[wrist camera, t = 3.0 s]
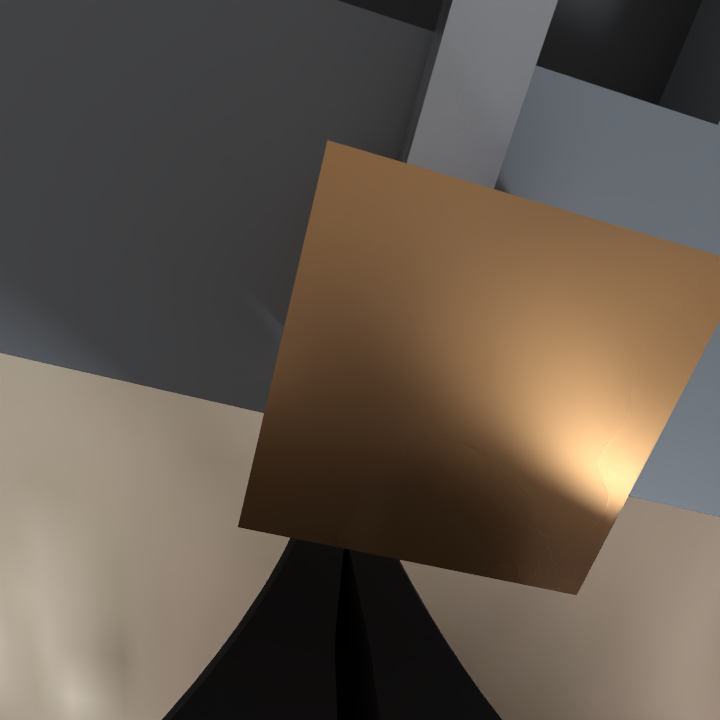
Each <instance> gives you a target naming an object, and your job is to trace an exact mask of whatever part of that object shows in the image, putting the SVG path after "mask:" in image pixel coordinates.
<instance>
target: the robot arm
mask: <svg viewBox="0 0 720 720" xmlns="http://www.w3.org/2000/svg"><path fill="white" fill-rule="evenodd" d="M162 720H502V719H501V718H500V717H499V715H498V714H497V713H496V711H495V710H494V709H493V707H492V706H491V705H490V704H489V702H488V701H487V700H486V698H485V697H484V696H483V694H482V693H481V692H480V690H479V689H478V687H477V686H476V685H475V683H474V682H473V680H472V679H471V677H470V676H469V675H468V673H467V672H466V670H465V669H464V667H463V666H462V664H461V663H460V661H459V660H458V658H457V657H456V655H455V654H454V652H453V651H452V649H451V648H450V646H449V644H448V643H447V641H446V640H445V638H444V637H443V635H442V634H441V632H440V630H439V629H438V627H437V625H436V624H435V622H434V621H433V619H432V617H431V616H430V614H429V612H428V610H427V609H426V607H425V605H424V604H423V602H422V600H421V598H420V597H419V595H418V593H417V591H416V590H415V588H414V586H413V584H412V583H411V581H410V579H409V577H408V575H407V573H406V571H405V570H404V568H403V566H402V564H401V562H400V560H399V559H395V558H390V557H385V556H380V555H375V554H370V553H365V552H360V551H355V550H350V549H345V548H340V547H335V546H330V545H325V544H320V543H315V542H310V541H305V540H300V539H295V538H290V540H289V542H288V544H287V546H286V548H285V550H284V552H283V554H282V556H281V558H280V559H279V561H278V563H277V565H276V566H275V568H274V570H273V572H272V574H271V575H270V577H269V579H268V581H267V582H266V584H265V585H264V587H263V589H262V590H261V592H260V593H259V595H258V596H257V598H256V599H255V601H254V602H253V604H252V605H251V607H250V608H249V610H248V611H247V613H246V614H245V616H244V617H243V619H242V620H241V622H240V623H239V625H238V626H237V627H236V629H235V630H234V632H233V633H232V634H231V636H230V637H229V638H228V640H227V641H226V642H225V644H224V645H223V646H222V648H221V649H220V650H219V652H218V653H217V654H216V656H215V657H214V658H213V659H212V661H211V662H210V663H209V664H208V666H207V667H206V668H205V669H204V671H203V672H202V673H201V674H200V676H199V677H198V678H197V679H196V681H195V682H194V683H193V684H192V686H191V687H190V688H189V689H188V690H187V691H186V692H185V694H184V695H183V696H182V697H181V698H180V699H179V701H178V702H177V703H176V704H175V705H174V706H173V708H172V709H171V710H170V711H169V712H168V713H167V715H166V716H165V717H164V718H163V719H162Z"/></svg>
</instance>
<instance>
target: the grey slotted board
mask: <svg viewBox="0 0 720 720" xmlns="http://www.w3.org/2000/svg"><path fill="white" fill-rule="evenodd" d="M442 2H443V0H0V353H3V354H8V355H12V356H17V357H21V358H25V359H30V360H34V361H39V362H43V363H47V364H52V365H56V366H60V367H65V368H69V369H74V370H78V371H82V372H87V373H91V374H95V375H100V376H104V377H109V378H113V379H117V380H122V381H126V382H131V383H135V384H139V385H144V386H148V387H152V388H157V389H161V390H166V391H170V392H174V393H179V394H183V395H187V396H192V397H196V398H201V399H205V400H209V401H214V402H218V403H223V404H227V405H231V406H236V407H240V408H244V409H249V410H253V411H258V412H262V413H264V412H265V408H266V404H267V400H268V395H269V391H270V387H271V382H272V378H273V374H274V369H275V365H276V361H277V356H278V352H279V348H280V343H281V339H282V335H283V330H284V326H285V322H286V317H287V313H288V309H289V305H290V300H291V296H292V292H293V287H294V283H295V279H296V274H297V270H298V266H299V261H300V257H301V253H302V248H303V244H304V240H305V235H306V231H307V227H308V222H309V218H310V214H311V209H312V205H313V201H314V197H315V192H316V188H317V184H318V179H319V175H320V171H321V166H322V162H323V158H324V153H325V149H326V145H327V140H329V141H332V142H336V143H339V144H343V145H346V146H349V147H353V148H356V149H359V150H363V151H366V152H370V153H373V154H376V155H380V156H383V157H387V158H390V159H393V160H397V161H399V157H400V154H401V150H402V147H403V143H404V139H405V136H406V132H407V129H408V125H409V121H410V118H411V114H412V111H413V107H414V103H415V100H416V96H417V93H418V89H419V85H420V82H421V78H422V74H423V71H424V67H425V64H426V60H427V56H428V53H429V49H430V46H431V42H432V38H433V35H434V31H435V28H436V24H437V20H438V17H439V13H440V10H441V6H442ZM494 189H495V190H498V191H502V192H505V193H509V194H512V195H515V196H519V197H522V198H526V199H529V200H532V201H536V202H539V203H543V204H546V205H549V206H553V207H556V208H559V209H563V210H566V211H570V212H573V213H576V214H580V215H583V216H587V217H590V218H593V219H597V220H600V221H604V222H607V223H610V224H614V225H617V226H620V227H624V228H627V229H631V230H634V231H637V232H641V233H644V234H648V235H651V236H654V237H658V238H661V239H665V240H668V241H671V242H675V243H678V244H681V245H685V246H688V247H692V248H695V249H698V250H702V251H705V252H709V253H712V254H715V255H719V256H720V0H558V1H557V4H556V7H555V10H554V13H553V16H552V19H551V22H550V25H549V28H548V31H547V34H546V37H545V40H544V43H543V46H542V48H541V51H540V54H539V57H538V60H537V63H536V66H535V69H534V72H533V75H532V78H531V81H530V84H529V87H528V90H527V93H526V95H525V98H524V101H523V104H522V107H521V110H520V113H519V116H518V119H517V122H516V125H515V128H514V131H513V134H512V137H511V139H510V142H509V145H508V148H507V151H506V154H505V157H504V160H503V163H502V166H501V169H500V172H499V175H498V178H497V181H496V184H495V186H494ZM628 496H630V497H634V498H639V499H643V500H647V501H652V502H656V503H661V504H665V505H669V506H674V507H678V508H682V509H687V510H691V511H696V512H700V513H704V514H709V515H713V516H718V517H720V321H719V323H718V325H717V327H716V329H715V331H714V333H713V334H712V336H711V338H710V340H709V342H708V344H707V346H706V348H705V350H704V352H703V354H702V355H701V357H700V359H699V361H698V363H697V365H696V367H695V369H694V371H693V373H692V375H691V377H690V378H689V380H688V382H687V384H686V386H685V388H684V390H683V392H682V394H681V396H680V398H679V400H678V401H677V403H676V405H675V407H674V409H673V411H672V413H671V415H670V417H669V419H668V421H667V423H666V424H665V426H664V428H663V430H662V432H661V434H660V436H659V438H658V440H657V442H656V444H655V446H654V447H653V449H652V451H651V453H650V455H649V457H648V459H647V461H646V463H645V465H644V467H643V469H642V470H641V472H640V474H639V476H638V478H637V480H636V482H635V484H634V486H633V488H632V490H631V492H630V493H629V495H628Z"/></svg>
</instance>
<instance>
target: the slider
mask: <svg viewBox="0 0 720 720" xmlns="http://www.w3.org/2000/svg"><path fill="white" fill-rule="evenodd" d="M557 1H558V0H443V2H442V6H441V10H440V13H439V17H438V20H437V24H436V28H435V31H434V35H433V38H432V42H431V46H430V49H429V53H428V56H427V60H426V64H425V67H424V71H423V74H422V78H421V82H420V85H419V89H418V93H417V96H416V100H415V103H414V107H413V111H412V114H411V118H410V121H409V125H408V129H407V132H406V136H405V139H404V143H403V147H402V150H401V154H400V157H399V161H397V160H393V159H390V158H387V157H383V156H380V155H376V154H373V153H370V152H366V151H363V150H359V149H356V148H353V147H349V146H346V145H343V144H339V143H336V142H332V141H329V140H327V145H326V149H325V153H324V158H323V162H322V166H321V171H320V175H319V179H318V184H317V188H316V192H315V197H314V201H313V205H312V209H311V214H310V218H309V222H308V227H307V231H306V235H305V240H304V244H303V248H302V253H301V257H300V261H299V266H298V270H297V274H296V279H295V283H294V287H293V292H292V296H291V300H290V305H289V309H288V313H287V317H286V322H285V326H284V330H283V335H282V339H281V343H280V348H279V352H278V356H277V361H276V365H275V369H274V374H273V378H272V382H271V387H270V391H269V395H268V400H267V404H266V408H265V412H264V417H263V421H262V425H261V430H260V434H259V438H258V443H257V447H256V451H255V456H254V460H253V464H252V469H251V473H250V477H249V482H248V486H247V490H246V495H245V499H244V503H243V508H242V512H241V516H240V520H239V525H238V527H240V528H245V529H250V530H255V531H260V532H265V533H270V534H275V535H280V536H285V537H290V538H295V539H300V540H305V541H310V542H315V543H320V544H325V545H330V546H335V547H340V548H345V549H350V550H355V551H360V552H365V553H370V554H375V555H380V556H385V557H390V558H395V559H400V560H404V561H409V562H414V563H419V564H424V565H429V566H434V567H439V568H444V569H449V570H454V571H459V572H464V573H469V574H474V575H479V576H484V577H489V578H494V579H499V580H504V581H509V582H514V583H519V584H524V585H529V586H534V587H539V588H544V589H549V590H554V591H559V592H564V593H569V594H574V595H577V593H578V591H579V589H580V587H581V585H582V584H583V582H584V580H585V578H586V576H587V574H588V572H589V570H590V568H591V566H592V564H593V562H594V561H595V559H596V557H597V555H598V553H599V551H600V549H601V547H602V545H603V543H604V541H605V539H606V538H607V536H608V534H609V532H610V530H611V528H612V526H613V524H614V522H615V520H616V518H617V516H618V515H619V513H620V511H621V509H622V507H623V505H624V503H625V501H626V499H627V497H628V495H629V493H630V492H631V490H632V488H633V486H634V484H635V482H636V480H637V478H638V476H639V474H640V472H641V470H642V469H643V467H644V465H645V463H646V461H647V459H648V457H649V455H650V453H651V451H652V449H653V447H654V446H655V444H656V442H657V440H658V438H659V436H660V434H661V432H662V430H663V428H664V426H665V424H666V423H667V421H668V419H669V417H670V415H671V413H672V411H673V409H674V407H675V405H676V403H677V401H678V400H679V398H680V396H681V394H682V392H683V390H684V388H685V386H686V384H687V382H688V380H689V378H690V377H691V375H692V373H693V371H694V369H695V367H696V365H697V363H698V361H699V359H700V357H701V355H702V354H703V352H704V350H705V348H706V346H707V344H708V342H709V340H710V338H711V336H712V334H713V333H714V331H715V329H716V327H717V325H718V323H719V321H720V256H719V255H715V254H712V253H709V252H705V251H702V250H698V249H695V248H692V247H688V246H685V245H681V244H678V243H675V242H671V241H668V240H665V239H661V238H658V237H654V236H651V235H648V234H644V233H641V232H637V231H634V230H631V229H627V228H624V227H620V226H617V225H614V224H610V223H607V222H604V221H600V220H597V219H593V218H590V217H587V216H583V215H580V214H576V213H573V212H570V211H566V210H563V209H559V208H556V207H553V206H549V205H546V204H543V203H539V202H536V201H532V200H529V199H526V198H522V197H519V196H515V195H512V194H509V193H505V192H502V191H498V190H495V189H494V186H495V184H496V181H497V178H498V175H499V172H500V169H501V166H502V163H503V160H504V157H505V154H506V151H507V148H508V145H509V142H510V139H511V137H512V134H513V131H514V128H515V125H516V122H517V119H518V116H519V113H520V110H521V107H522V104H523V101H524V98H525V95H526V93H527V90H528V87H529V84H530V81H531V78H532V75H533V72H534V69H535V66H536V63H537V60H538V57H539V54H540V51H541V48H542V46H543V43H544V40H545V37H546V34H547V31H548V28H549V25H550V22H551V19H552V16H553V13H554V10H555V7H556V4H557Z"/></svg>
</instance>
